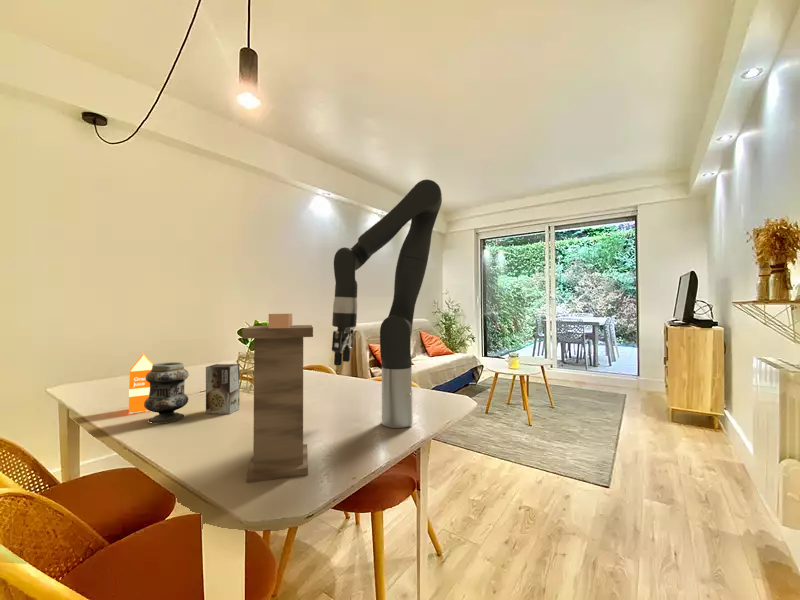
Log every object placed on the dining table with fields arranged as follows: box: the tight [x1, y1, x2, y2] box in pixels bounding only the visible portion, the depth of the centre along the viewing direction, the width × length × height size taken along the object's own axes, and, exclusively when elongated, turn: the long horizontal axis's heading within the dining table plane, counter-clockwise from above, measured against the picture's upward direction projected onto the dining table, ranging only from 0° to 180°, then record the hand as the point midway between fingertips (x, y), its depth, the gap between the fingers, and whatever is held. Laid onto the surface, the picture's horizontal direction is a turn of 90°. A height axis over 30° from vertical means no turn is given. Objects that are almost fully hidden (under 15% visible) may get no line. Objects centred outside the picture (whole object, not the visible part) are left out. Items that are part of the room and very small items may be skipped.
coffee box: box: [205, 363, 240, 415], centre depth 124 cm, size 9×6×16 cm
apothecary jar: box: [144, 361, 190, 424], centre depth 116 cm, size 12×12×18 cm
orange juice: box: [128, 352, 154, 414], centre depth 127 cm, size 8×9×20 cm
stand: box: [241, 324, 314, 483], centre depth 82 cm, size 16×14×31 cm
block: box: [268, 313, 293, 328], centre depth 87 cm, size 26×4×3 cm, turn 15°
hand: (342, 363), depth 112 cm, fingers open, 8 cm apart
